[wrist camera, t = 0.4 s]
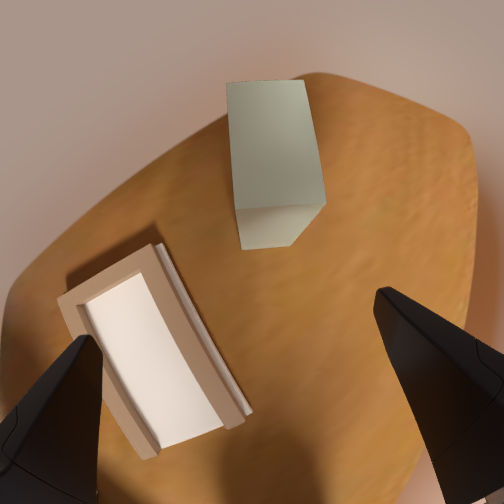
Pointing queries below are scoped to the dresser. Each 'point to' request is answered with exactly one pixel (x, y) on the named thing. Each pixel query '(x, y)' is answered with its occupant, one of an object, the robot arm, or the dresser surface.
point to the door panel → (273, 162)
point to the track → (154, 353)
